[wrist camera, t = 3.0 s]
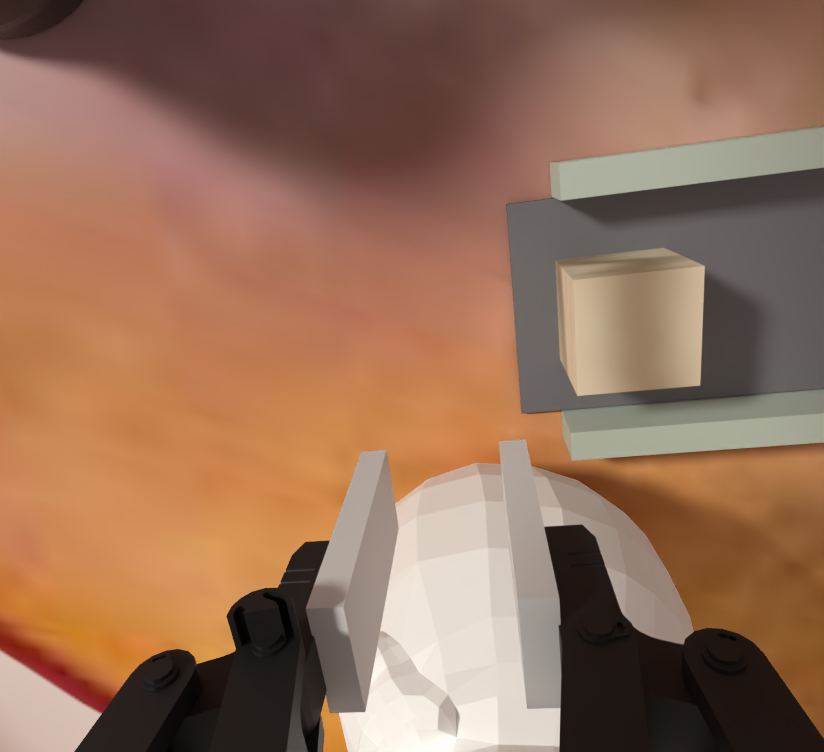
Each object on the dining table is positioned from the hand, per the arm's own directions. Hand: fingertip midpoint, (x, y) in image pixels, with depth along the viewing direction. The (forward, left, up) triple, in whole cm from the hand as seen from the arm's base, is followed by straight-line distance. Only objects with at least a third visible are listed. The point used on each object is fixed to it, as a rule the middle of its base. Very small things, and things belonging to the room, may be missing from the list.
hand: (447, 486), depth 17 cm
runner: (+18, 0, -20) cm, 27 cm away
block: (+9, 0, -19) cm, 21 cm away
